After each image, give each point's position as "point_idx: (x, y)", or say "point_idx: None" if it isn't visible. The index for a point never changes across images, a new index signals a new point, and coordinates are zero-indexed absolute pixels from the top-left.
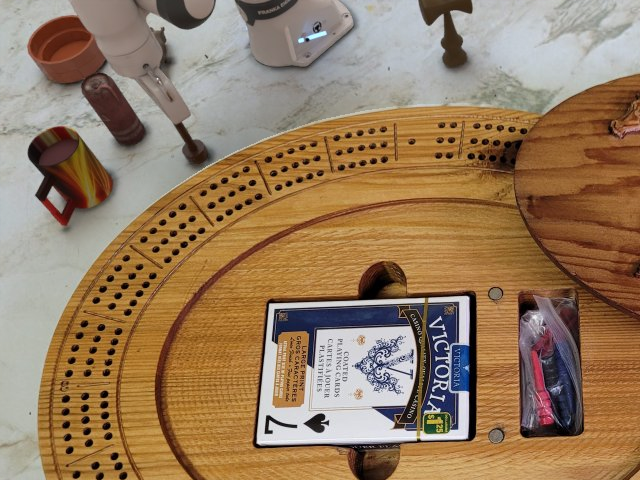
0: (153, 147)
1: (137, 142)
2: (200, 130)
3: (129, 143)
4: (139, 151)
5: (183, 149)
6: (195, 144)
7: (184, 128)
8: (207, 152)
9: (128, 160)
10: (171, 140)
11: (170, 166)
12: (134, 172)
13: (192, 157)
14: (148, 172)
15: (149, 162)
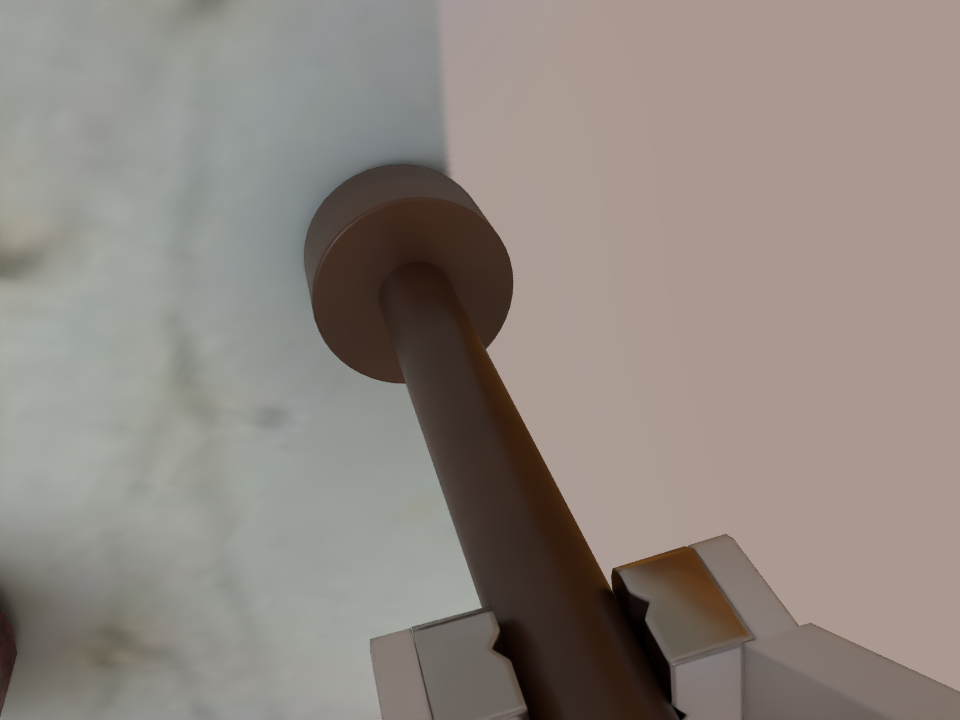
0: (98, 521)
1: (3, 614)
2: (73, 150)
3: (12, 670)
4: (93, 605)
5: (384, 370)
6: (433, 276)
7: (510, 400)
8: (448, 183)
9: (147, 668)
10: (84, 396)
11: (355, 448)
12: (277, 645)
13: (500, 322)
14: (326, 575)
15: (238, 560)
